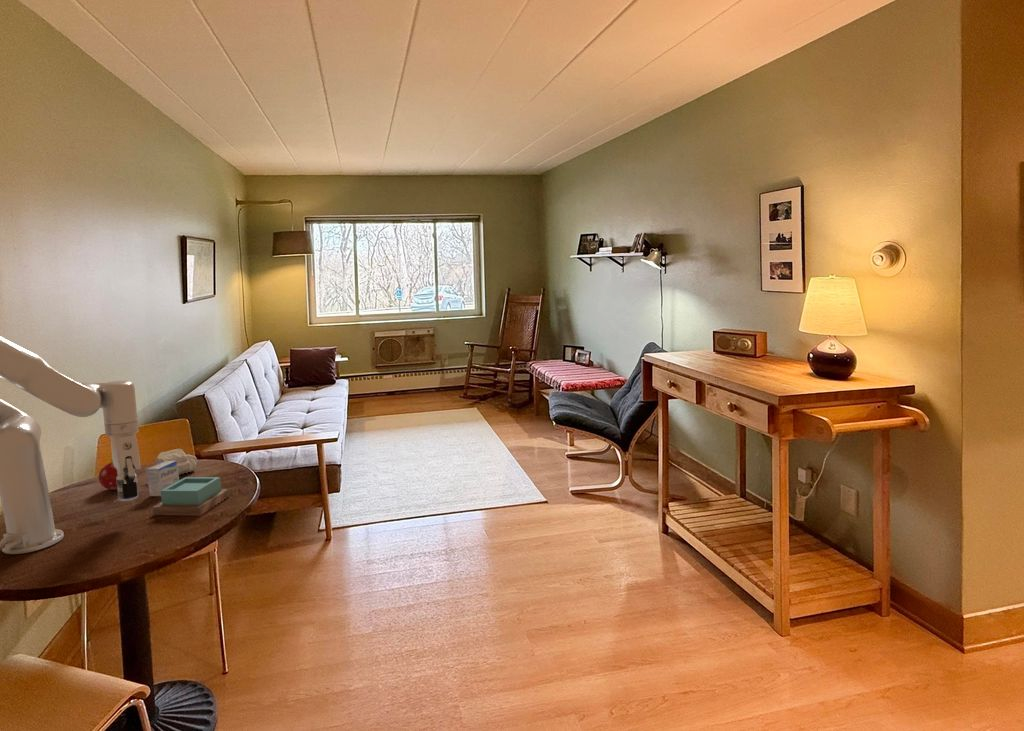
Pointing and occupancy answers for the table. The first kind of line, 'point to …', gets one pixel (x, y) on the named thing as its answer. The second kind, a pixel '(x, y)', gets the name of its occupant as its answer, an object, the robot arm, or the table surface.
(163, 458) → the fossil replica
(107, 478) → the christmas ornament
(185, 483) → the teal tray
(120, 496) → the pill bottle
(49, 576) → the table surface
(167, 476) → the medicine box
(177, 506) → the walnut slab
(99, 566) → the table surface
